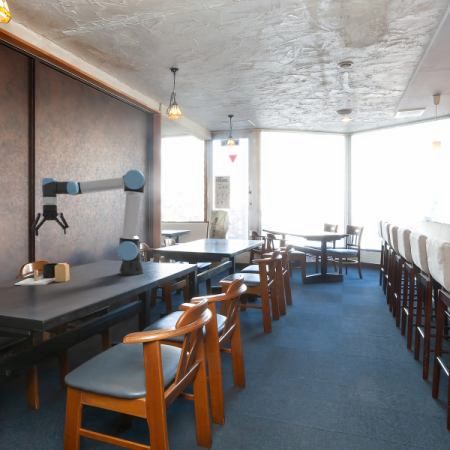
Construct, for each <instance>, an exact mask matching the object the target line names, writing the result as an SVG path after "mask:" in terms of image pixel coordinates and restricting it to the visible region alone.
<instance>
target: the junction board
mask: <svg viewBox="0 0 450 450" xmlns="http://www.w3.org/2000/svg"><path fill="white" fill-rule="evenodd" d="M52 282H55V278H44V276H43V274H42V275H41V276H39V270H38V269H34V270H33V278H32V277H31V278H29V277H28V278H26V279H23V280H21V281H19V282H16V283H14V286H15V285H21V286H46V285H47V284H50V283H52Z"/></svg>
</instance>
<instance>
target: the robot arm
mask: <svg viewBox="0 0 450 450" xmlns="http://www.w3.org/2000/svg"><path fill="white" fill-rule="evenodd" d="M146 183H147V179H146V176H145V175H144V173H143V172H142V171H141V170H137V169H130V170H128V171H127V172H126V173H125V174H123V175H122V176H121V177H112V178H105V179H104V178H102V179H95V180H94V179H93V180H87V181H79V182H77V181H72V180H71V181H65V180H64V181H57V179H56V177H44V178H42V180H41V193H42V195H41V196H42V204H43V205H42V213H41V212H37V214H36V217H35V220H34V222H33V224H32V225H31V229H30V230H34V235H35V237H36V242H38V243H39V242H41V231H40V230H39V229H40V228H41V227H42V226H43V225H44V223H45V222H46V221H55V222H56V223H57V224H58V225H59V226H60V227H61V229H60V233H61V234H60V235H61V241H65V235H66V233H67V232H66V229H68V228H69V227H70V226H69V224H68V223H67V221H66V220H67V219H66V218H65V216H64V213H63V212H58V205H57V204H58V201H57V200H58V199H57V195H68V196H69V195H71V196H78V195H83V194H84V195H86V194H92V193H101V192H109V191H120V190H123V192H124V194H125V203H124V204H125V206H124V217H123V227H122V234H121V235H120V236H119V239H118V240H119V241H118V245H117V248H116V249H117V252H116V253H117V255H118V257H119V258H120V259H121V263H120V267H119V271H118V274H119V275H121V276H135V275H142V274H144V267H143V263H142V262H141V238H140V237H139V236H138V231H139V220H140V219H139V218H140V207H141V197H142V195H144V192H145V186H146ZM41 217H42V219H41ZM58 217H59V218H60V219H59V218H58ZM40 219H41V221H40ZM60 220H61V221H60ZM39 221H40V222H39Z"/></svg>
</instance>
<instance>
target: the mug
mask: <svg viewBox="0 0 450 450" xmlns="http://www.w3.org/2000/svg"><path fill="white" fill-rule="evenodd" d="M57 264H58V262H52V263H51V262H50V263H43V264H42V275H43V276H44V278H55V266H56V265H57Z"/></svg>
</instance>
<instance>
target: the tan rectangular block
mask: <svg viewBox="0 0 450 450" xmlns="http://www.w3.org/2000/svg"><path fill="white" fill-rule="evenodd" d="M57 263H58V262H57ZM70 278H71V277H70V264H68V263H67V262H59V263H58V264H57V265H56V266H55V280H54V282H62V283H63V282H67V281H70Z"/></svg>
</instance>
